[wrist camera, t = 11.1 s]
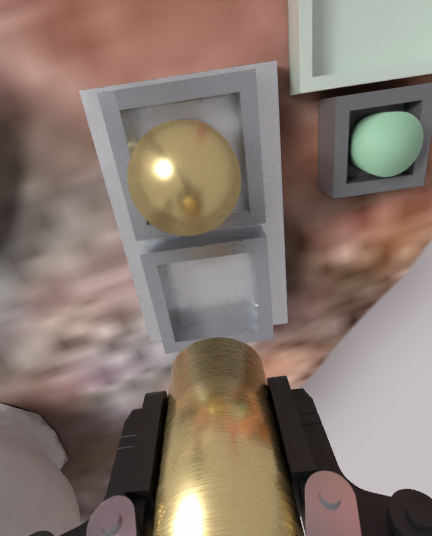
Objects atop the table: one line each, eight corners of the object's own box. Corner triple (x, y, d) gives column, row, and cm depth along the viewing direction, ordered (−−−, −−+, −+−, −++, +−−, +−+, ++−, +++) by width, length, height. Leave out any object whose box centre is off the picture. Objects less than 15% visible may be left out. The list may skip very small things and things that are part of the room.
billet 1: (146, 125, 17) (112, 130, 10) (221, 113, 16) (233, 110, 10) (163, 200, 18) (142, 243, 12) (230, 189, 18) (246, 227, 12)
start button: (346, 116, 17) (364, 116, 15) (403, 108, 16) (428, 106, 15) (343, 174, 18) (359, 180, 16) (396, 166, 18) (418, 172, 16)
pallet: (87, 92, 17) (63, 87, 14) (272, 64, 17) (286, 53, 14) (152, 331, 24) (146, 360, 21) (283, 313, 24) (295, 341, 21)
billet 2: (162, 344, 13) (122, 567, 6) (260, 331, 13) (317, 545, 6) (180, 412, 14) (162, 640, 8) (266, 401, 14) (316, 624, 8)
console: (318, 99, 17) (336, 96, 15) (409, 86, 17) (440, 81, 15) (317, 189, 20) (332, 198, 17) (398, 178, 19) (423, 185, 17)
